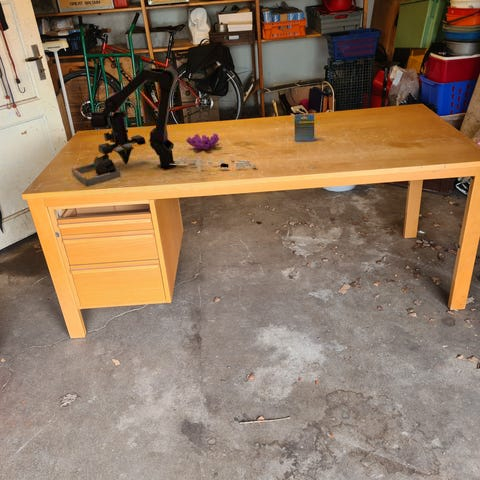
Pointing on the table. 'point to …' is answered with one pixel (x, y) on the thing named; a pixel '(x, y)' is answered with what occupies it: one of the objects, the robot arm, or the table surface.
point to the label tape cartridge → (304, 128)
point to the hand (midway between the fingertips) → (126, 164)
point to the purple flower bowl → (203, 141)
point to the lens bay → (97, 179)
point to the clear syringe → (198, 162)
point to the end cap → (104, 165)
